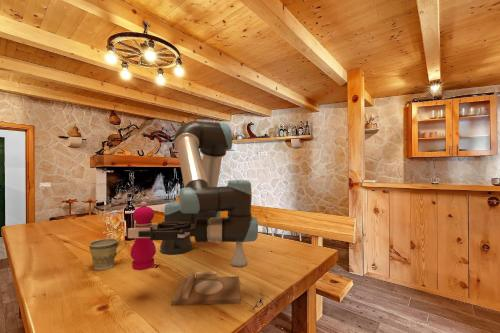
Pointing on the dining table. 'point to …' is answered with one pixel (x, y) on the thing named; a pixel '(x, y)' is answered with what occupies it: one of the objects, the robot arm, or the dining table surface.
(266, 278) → the dining table surface
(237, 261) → the flask
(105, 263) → the ceramic cup
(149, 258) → the pepper mill
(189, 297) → the jig board
